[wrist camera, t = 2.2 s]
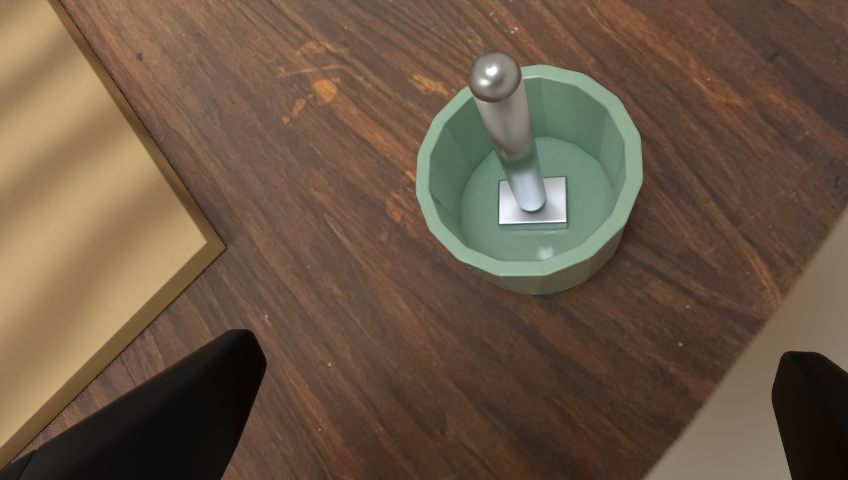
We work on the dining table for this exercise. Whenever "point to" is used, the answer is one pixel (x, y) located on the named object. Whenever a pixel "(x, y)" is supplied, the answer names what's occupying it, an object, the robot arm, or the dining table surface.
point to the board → (77, 221)
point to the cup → (559, 156)
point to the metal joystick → (516, 147)
